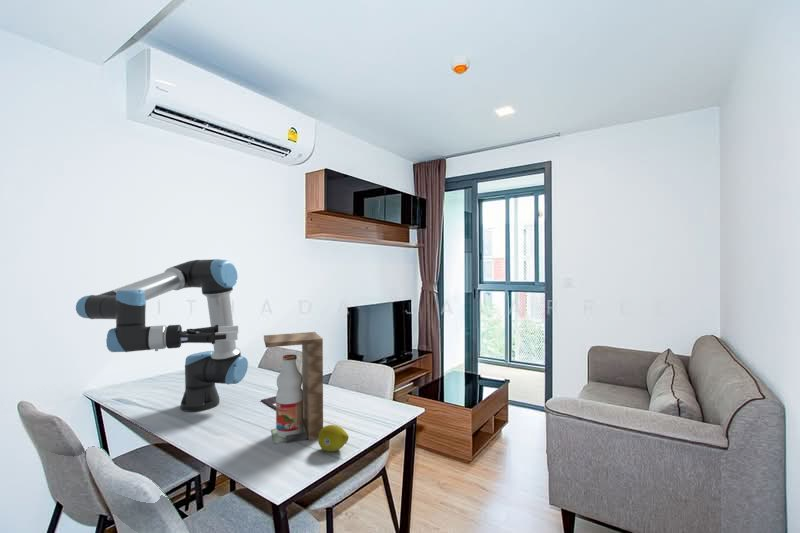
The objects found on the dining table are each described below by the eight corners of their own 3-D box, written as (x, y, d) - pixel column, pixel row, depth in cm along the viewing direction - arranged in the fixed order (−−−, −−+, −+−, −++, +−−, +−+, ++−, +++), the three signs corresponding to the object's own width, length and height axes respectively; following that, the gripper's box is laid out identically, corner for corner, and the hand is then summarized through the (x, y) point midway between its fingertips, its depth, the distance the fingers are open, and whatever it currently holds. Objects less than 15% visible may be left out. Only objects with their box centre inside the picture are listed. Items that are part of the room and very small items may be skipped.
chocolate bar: (279, 395, 176) (298, 405, 163) (279, 397, 176) (298, 407, 163) (260, 399, 170) (278, 410, 157) (260, 401, 170) (278, 412, 157)
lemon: (311, 451, 122) (311, 426, 122) (328, 441, 129) (327, 418, 129) (337, 459, 117) (337, 434, 117) (353, 449, 123) (352, 425, 124)
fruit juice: (308, 432, 136) (307, 355, 136) (283, 441, 129) (283, 360, 129) (295, 425, 143) (295, 351, 143) (271, 432, 136) (271, 355, 136)
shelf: (266, 447, 125) (265, 343, 125) (264, 428, 140) (263, 335, 140) (323, 437, 132) (322, 338, 133) (315, 420, 147) (315, 331, 147)
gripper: (173, 341, 133) (238, 337, 141) (158, 356, 110) (237, 350, 118) (173, 320, 133) (238, 317, 141) (158, 331, 110) (237, 326, 118)
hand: (238, 332), depth 130 cm, fingers open, 13 cm apart
